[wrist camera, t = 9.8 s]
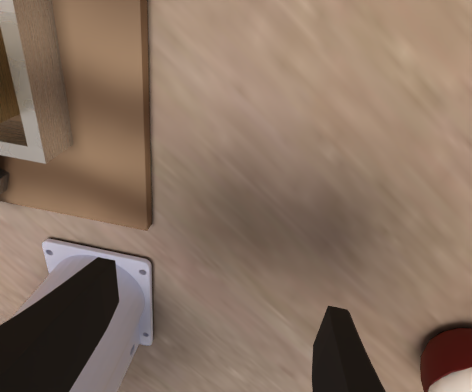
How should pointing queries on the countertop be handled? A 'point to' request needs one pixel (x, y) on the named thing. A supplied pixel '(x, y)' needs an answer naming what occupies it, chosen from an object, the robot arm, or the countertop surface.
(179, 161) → the countertop surface
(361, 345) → the robot arm
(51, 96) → the hollow square frame
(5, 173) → the shaft
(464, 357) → the cocoa
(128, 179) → the walnut base plate
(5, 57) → the wooden block
